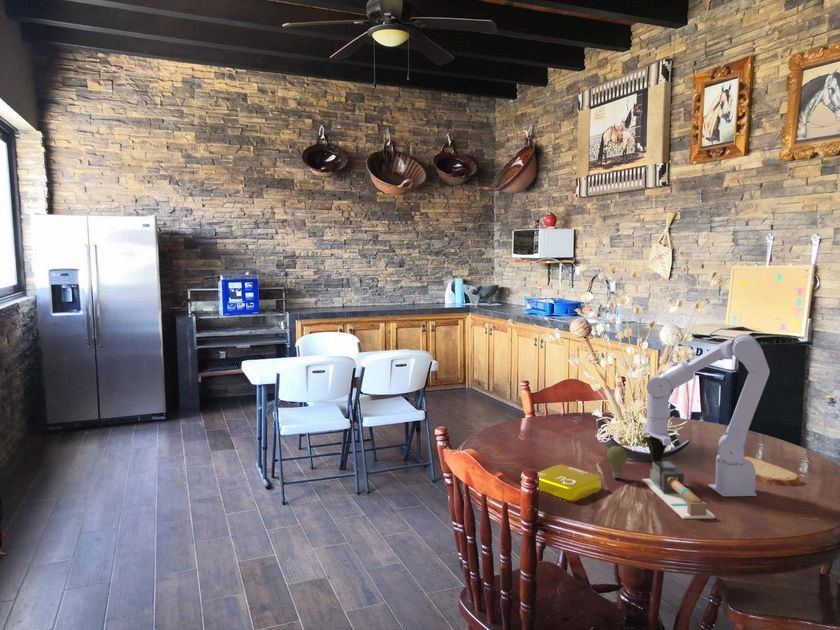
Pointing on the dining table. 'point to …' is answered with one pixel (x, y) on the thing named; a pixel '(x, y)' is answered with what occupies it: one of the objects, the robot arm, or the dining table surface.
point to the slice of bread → (773, 473)
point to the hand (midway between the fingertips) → (656, 462)
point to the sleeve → (662, 467)
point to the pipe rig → (681, 500)
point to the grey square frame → (668, 475)
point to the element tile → (568, 482)
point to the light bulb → (616, 460)
